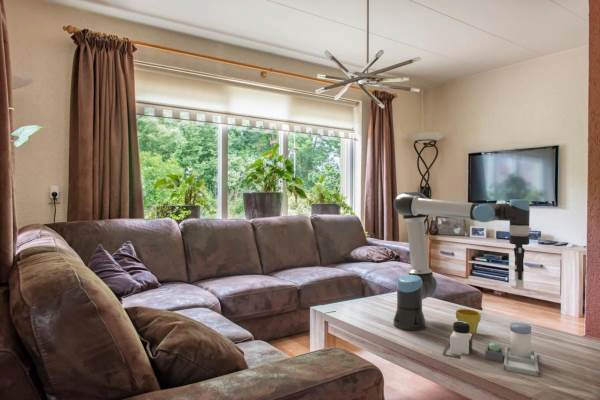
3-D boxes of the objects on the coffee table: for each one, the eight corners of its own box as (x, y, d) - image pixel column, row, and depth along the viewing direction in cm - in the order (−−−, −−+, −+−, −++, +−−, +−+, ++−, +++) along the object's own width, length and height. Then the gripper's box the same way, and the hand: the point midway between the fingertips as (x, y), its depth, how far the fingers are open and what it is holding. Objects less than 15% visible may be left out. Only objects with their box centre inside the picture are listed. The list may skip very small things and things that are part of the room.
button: (488, 352, 149) (488, 344, 149) (489, 349, 152) (489, 341, 152) (499, 354, 147) (499, 346, 147) (499, 351, 150) (499, 343, 150)
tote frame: (442, 355, 154) (442, 354, 154) (447, 344, 166) (447, 343, 166) (477, 361, 148) (477, 360, 148) (479, 350, 159) (479, 349, 159)
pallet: (483, 370, 141) (483, 358, 141) (487, 349, 160) (487, 338, 160) (542, 381, 132) (542, 369, 132) (539, 357, 152) (539, 346, 152)
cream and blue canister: (509, 358, 148) (510, 326, 148) (510, 351, 154) (510, 321, 154) (531, 362, 145) (531, 329, 145) (530, 355, 151) (531, 324, 151)
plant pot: (480, 331, 181) (480, 310, 181) (480, 338, 172) (480, 316, 172) (456, 328, 186) (456, 307, 186) (455, 335, 176) (455, 313, 176)
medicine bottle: (469, 357, 152) (469, 326, 152) (450, 353, 156) (450, 323, 156) (472, 351, 158) (472, 321, 158) (453, 347, 162) (453, 318, 162)
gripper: (531, 238, 157) (531, 291, 157) (527, 232, 179) (526, 279, 179) (510, 237, 160) (509, 289, 160) (508, 232, 182) (508, 277, 183)
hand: (518, 284), depth 170 cm, fingers open, 13 cm apart
